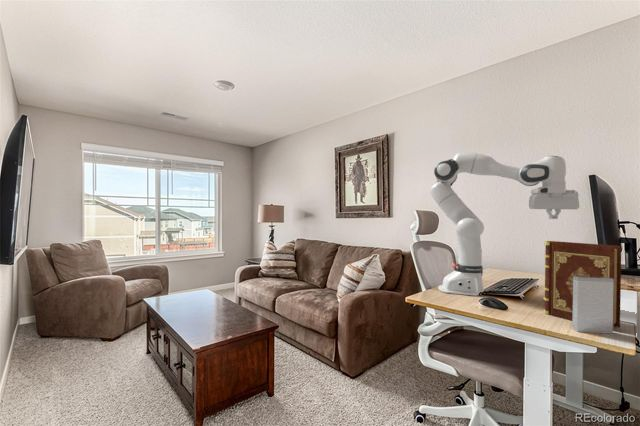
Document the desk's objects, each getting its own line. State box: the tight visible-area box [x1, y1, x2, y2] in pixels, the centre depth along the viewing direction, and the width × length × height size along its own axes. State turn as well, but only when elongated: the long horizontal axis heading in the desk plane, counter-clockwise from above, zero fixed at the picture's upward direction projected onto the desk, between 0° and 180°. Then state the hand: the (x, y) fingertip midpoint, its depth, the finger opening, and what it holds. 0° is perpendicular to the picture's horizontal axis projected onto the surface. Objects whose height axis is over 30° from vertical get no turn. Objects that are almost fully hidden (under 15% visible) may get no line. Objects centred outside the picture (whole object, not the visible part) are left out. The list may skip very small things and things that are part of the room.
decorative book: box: [543, 240, 622, 331], centre depth 118 cm, size 22×8×30 cm, turn 31°
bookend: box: [571, 276, 614, 335], centre depth 106 cm, size 11×2×19 cm, turn 81°
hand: (553, 218), depth 143 cm, fingers closed
